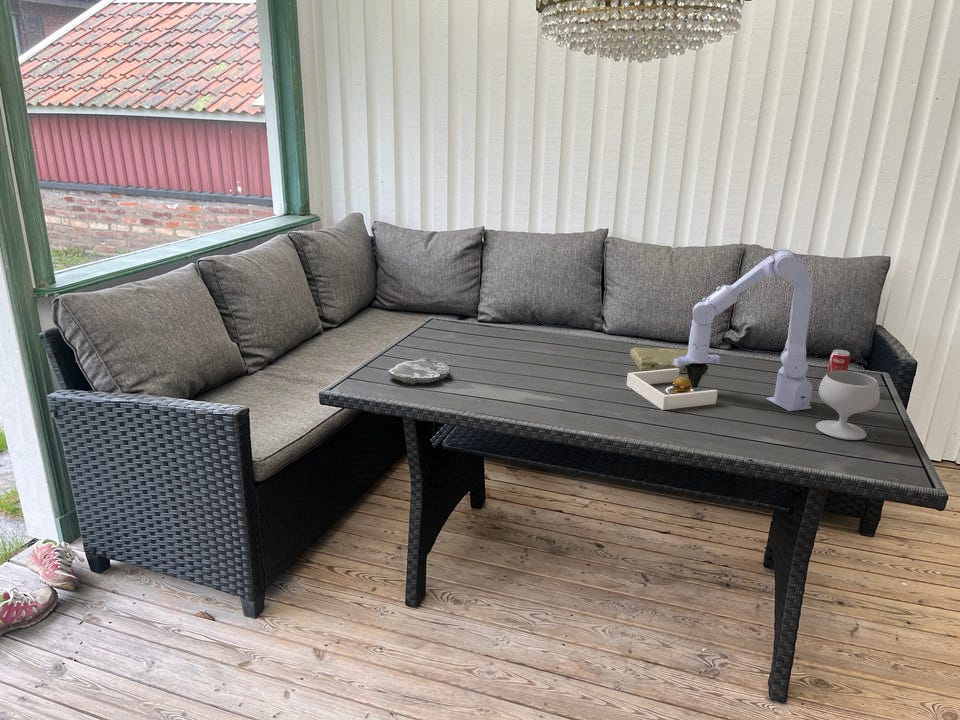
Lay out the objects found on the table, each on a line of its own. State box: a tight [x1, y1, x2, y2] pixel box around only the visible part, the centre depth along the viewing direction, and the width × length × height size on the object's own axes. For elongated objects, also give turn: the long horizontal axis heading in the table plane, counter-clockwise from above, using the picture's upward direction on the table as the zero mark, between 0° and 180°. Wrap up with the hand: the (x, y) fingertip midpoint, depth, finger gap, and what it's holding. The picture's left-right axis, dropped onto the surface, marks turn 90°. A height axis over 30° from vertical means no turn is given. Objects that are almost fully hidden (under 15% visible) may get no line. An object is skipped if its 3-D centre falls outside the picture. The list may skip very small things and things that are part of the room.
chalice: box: [815, 370, 881, 441], centre depth 180 cm, size 14×14×15 cm
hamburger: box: [665, 376, 697, 395], centre depth 205 cm, size 12×12×6 cm
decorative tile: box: [629, 346, 688, 374], centre depth 231 cm, size 19×20×4 cm
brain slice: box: [387, 357, 451, 385], centre depth 213 cm, size 20×17×3 cm
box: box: [626, 368, 719, 411], centre depth 204 cm, size 20×18×4 cm
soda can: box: [826, 349, 851, 374], centre depth 210 cm, size 5×5×12 cm
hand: (693, 386), depth 206 cm, fingers closed
